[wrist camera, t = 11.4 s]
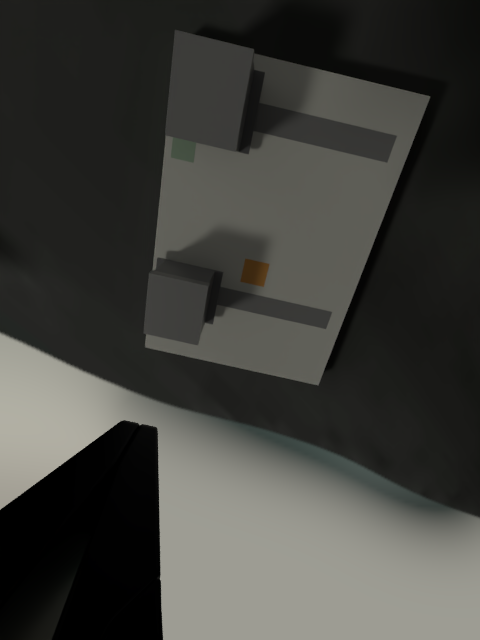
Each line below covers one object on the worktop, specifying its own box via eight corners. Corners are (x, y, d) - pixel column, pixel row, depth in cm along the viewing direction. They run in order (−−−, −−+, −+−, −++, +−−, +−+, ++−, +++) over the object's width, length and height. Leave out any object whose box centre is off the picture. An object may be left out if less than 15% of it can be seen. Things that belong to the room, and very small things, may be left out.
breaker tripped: (223, 271, 16) (216, 288, 14) (213, 323, 17) (205, 347, 15) (158, 256, 16) (140, 271, 14) (152, 310, 17) (135, 331, 15)
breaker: (265, 71, 12) (265, 51, 10) (248, 155, 14) (245, 154, 11) (182, 52, 12) (164, 27, 10) (172, 138, 14) (155, 132, 11)
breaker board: (419, 101, 14) (430, 96, 13) (315, 374, 20) (318, 385, 19) (182, 43, 13) (175, 34, 12) (150, 338, 19) (144, 347, 18)
